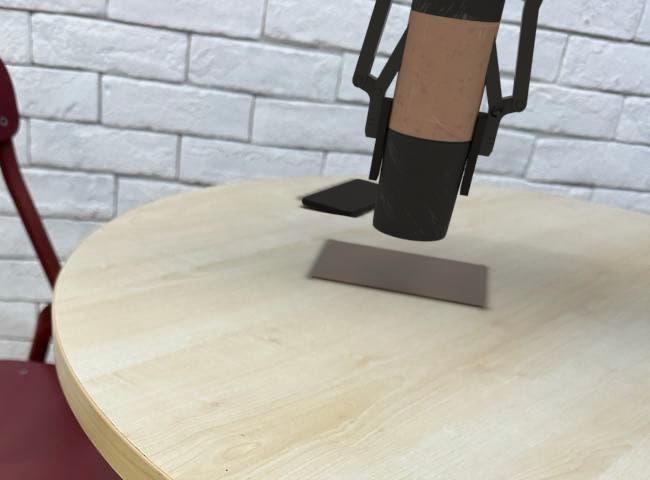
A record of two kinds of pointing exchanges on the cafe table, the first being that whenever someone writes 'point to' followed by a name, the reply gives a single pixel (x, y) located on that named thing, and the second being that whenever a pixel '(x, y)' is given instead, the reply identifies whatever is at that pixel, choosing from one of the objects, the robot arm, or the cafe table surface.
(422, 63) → the travel mug
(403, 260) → the coaster board
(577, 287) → the cafe table surface
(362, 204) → the smartphone
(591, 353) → the cafe table surface
